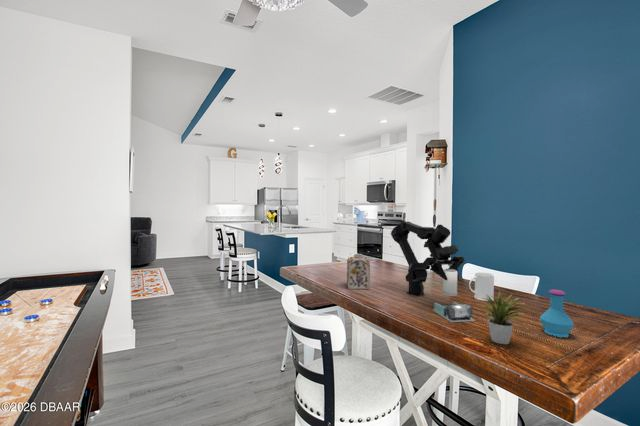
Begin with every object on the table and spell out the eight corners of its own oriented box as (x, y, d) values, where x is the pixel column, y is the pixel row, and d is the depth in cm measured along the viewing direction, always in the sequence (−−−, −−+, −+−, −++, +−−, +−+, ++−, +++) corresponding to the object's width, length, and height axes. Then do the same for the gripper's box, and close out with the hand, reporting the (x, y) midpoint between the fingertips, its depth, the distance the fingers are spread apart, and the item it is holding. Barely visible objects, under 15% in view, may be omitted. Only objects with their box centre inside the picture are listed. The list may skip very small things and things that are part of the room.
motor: (432, 310, 126) (433, 297, 126) (453, 309, 128) (453, 296, 128) (451, 322, 113) (452, 307, 113) (474, 321, 115) (474, 306, 114)
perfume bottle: (575, 341, 98) (577, 296, 97) (541, 335, 102) (542, 291, 102) (570, 332, 105) (571, 289, 105) (538, 326, 110) (539, 286, 110)
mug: (472, 301, 140) (472, 275, 140) (464, 295, 149) (464, 271, 149) (497, 301, 140) (498, 276, 140) (488, 296, 148) (488, 272, 148)
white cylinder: (439, 293, 129) (440, 268, 128) (448, 291, 132) (449, 267, 131) (451, 296, 124) (452, 271, 123) (460, 294, 126) (460, 270, 126)
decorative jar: (370, 289, 158) (370, 256, 158) (348, 289, 158) (348, 255, 158) (366, 284, 170) (367, 252, 170) (346, 283, 170) (347, 252, 170)
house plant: (505, 355, 87) (506, 300, 87) (465, 337, 100) (466, 288, 100) (535, 347, 93) (536, 295, 93) (494, 330, 106) (495, 284, 106)
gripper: (426, 239, 128) (443, 270, 118) (462, 238, 133) (481, 267, 123) (415, 254, 136) (430, 284, 126) (449, 252, 141) (466, 281, 131)
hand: (452, 279), depth 126 cm, fingers closed on white cylinder, 5 cm apart
